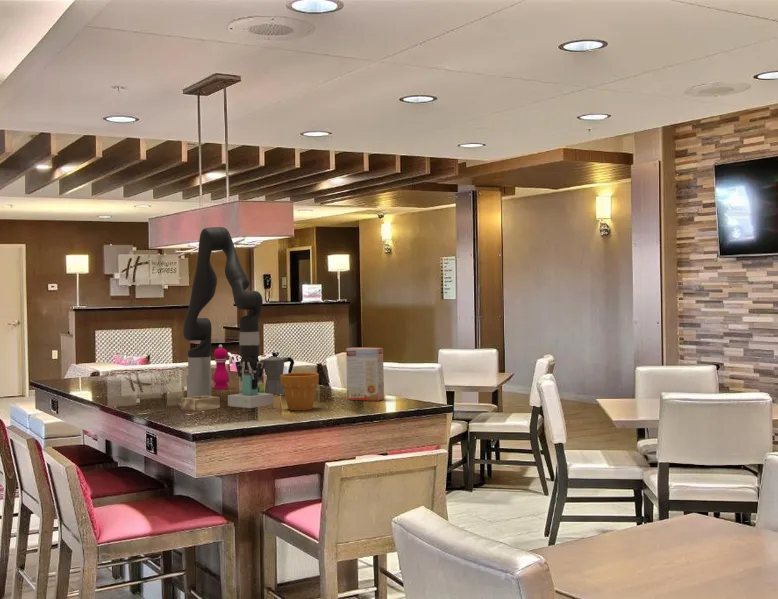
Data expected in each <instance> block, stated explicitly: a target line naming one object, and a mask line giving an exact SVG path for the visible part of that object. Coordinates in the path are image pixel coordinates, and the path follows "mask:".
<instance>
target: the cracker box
mask: <svg viewBox="0 0 778 599" xmlns="http://www.w3.org/2000/svg"><path fill="white" fill-rule="evenodd" d="M345 351H346V354H345V355H346V358H345V359H346V362H345V363H346V399H347V401H367V402H368V401H370V402H378V401H379V402H380V401H383V400H384V399H385V386H384V384H385V381H384V378H385V377H384V375H385V373H384V348H383V347H346V348H345Z"/></svg>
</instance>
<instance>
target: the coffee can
mask: <svg viewBox="0 0 778 599" xmlns="http://www.w3.org/2000/svg"><path fill="white" fill-rule="evenodd" d="M253 371H255V370H253ZM240 372H241V371H240ZM264 372H265V369H264V370H263V374H262V377H261V378H258V393H264V392H265V384H264V382H265V381H264V379H265V378H264ZM259 373H260V372H259ZM241 374H242V373H241ZM241 393H243V383H242V378H241V377H239V376H238V394H241Z"/></svg>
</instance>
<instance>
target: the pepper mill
mask: <svg viewBox="0 0 778 599" xmlns="http://www.w3.org/2000/svg"><path fill="white" fill-rule="evenodd" d="M213 356H214V358H215V359H214V360H215V361H214V362H215V363H216V364H215V365H216V367H215V370H214V373H213V377H212V381H213V382H214V385H213V389H214V388H215V389H214V390H225V389H224V388H228V389H229V384H228V383H229V381H230V376H229V373H228V371H227V368H226V363H227V356H228V351H227V349H226V348H224V347H223V345H222V344H219V345H218V348H216V349H215V350H214V352H213Z"/></svg>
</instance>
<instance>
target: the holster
mask: <svg viewBox="0 0 778 599" xmlns="http://www.w3.org/2000/svg"><path fill="white" fill-rule="evenodd" d="M220 401H221V398H220V396H213V395H211V396H203V395H201V396H193V397H187V396H186V397H180V410H186V411H194V412H195V411H196V412H201V411H208V410H215V409H220V407H221V402H220Z"/></svg>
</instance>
